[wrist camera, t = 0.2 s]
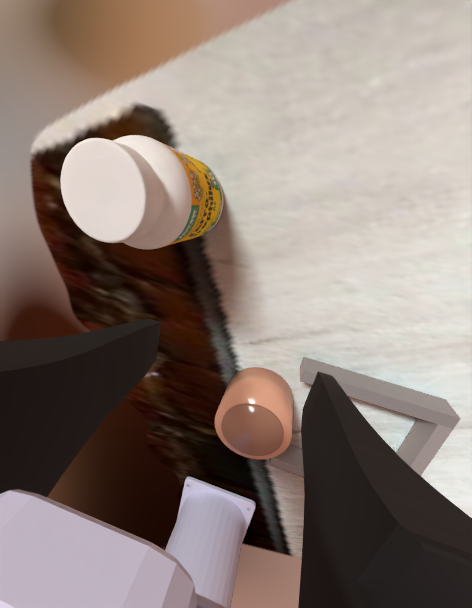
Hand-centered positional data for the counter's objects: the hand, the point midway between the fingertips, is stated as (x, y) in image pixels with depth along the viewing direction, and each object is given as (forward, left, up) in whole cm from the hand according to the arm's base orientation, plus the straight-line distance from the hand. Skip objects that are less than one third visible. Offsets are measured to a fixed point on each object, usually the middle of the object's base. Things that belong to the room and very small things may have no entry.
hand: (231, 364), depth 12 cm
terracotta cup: (-9, -2, -10) cm, 14 cm away
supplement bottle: (+6, +7, -10) cm, 14 cm away
